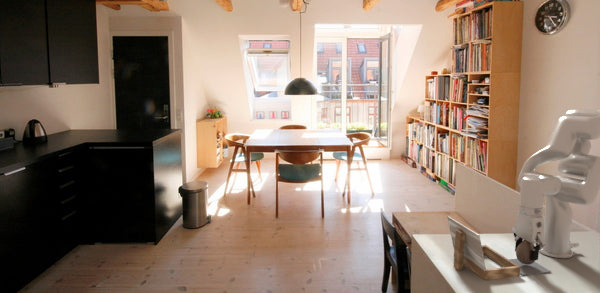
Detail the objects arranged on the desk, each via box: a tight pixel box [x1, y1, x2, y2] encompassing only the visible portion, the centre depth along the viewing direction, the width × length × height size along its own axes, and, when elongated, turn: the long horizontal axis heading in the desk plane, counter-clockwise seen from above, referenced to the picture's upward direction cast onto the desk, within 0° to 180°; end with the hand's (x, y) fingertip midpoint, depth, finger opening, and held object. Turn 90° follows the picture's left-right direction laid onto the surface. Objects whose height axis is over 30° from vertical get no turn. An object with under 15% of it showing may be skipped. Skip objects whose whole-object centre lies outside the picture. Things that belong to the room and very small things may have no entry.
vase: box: [515, 239, 536, 265], centre depth 157 cm, size 7×7×9 cm
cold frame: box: [446, 215, 521, 281], centre depth 158 cm, size 19×20×17 cm
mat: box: [508, 258, 552, 277], centre depth 158 cm, size 12×12×1 cm
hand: (526, 255), depth 158 cm, fingers closed on vase, 6 cm apart
